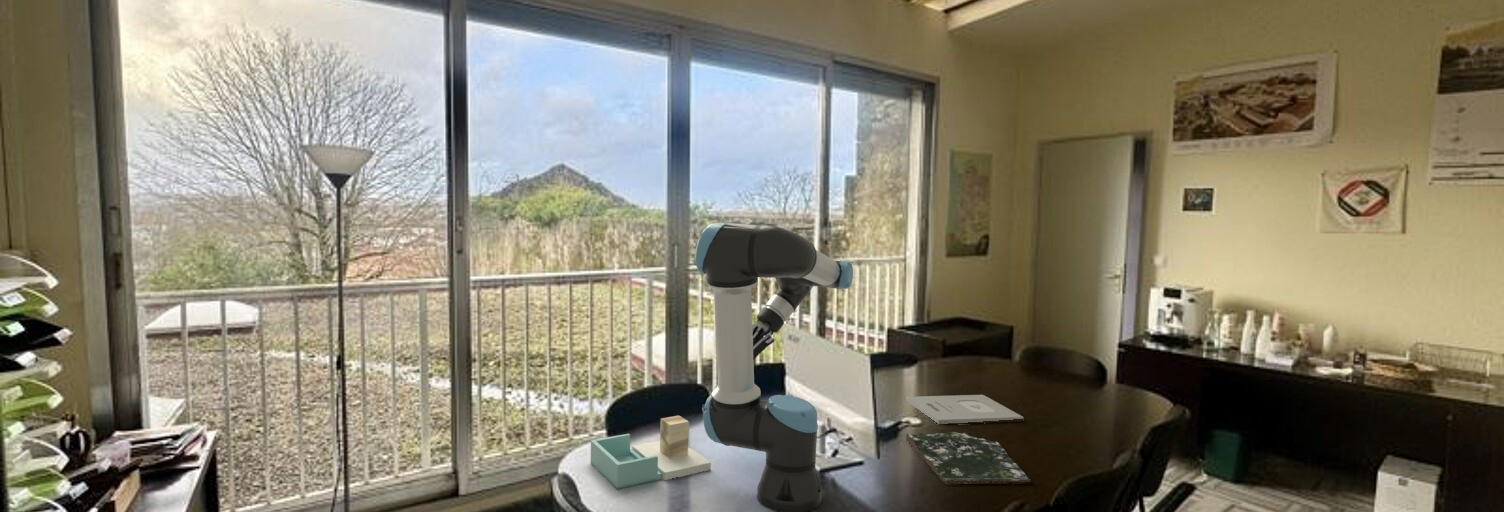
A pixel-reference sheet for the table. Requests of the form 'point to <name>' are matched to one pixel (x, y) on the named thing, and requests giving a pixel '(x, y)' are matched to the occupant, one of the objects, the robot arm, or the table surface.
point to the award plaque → (962, 408)
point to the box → (622, 462)
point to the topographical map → (966, 458)
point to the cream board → (673, 461)
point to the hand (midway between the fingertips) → (723, 379)
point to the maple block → (674, 436)
